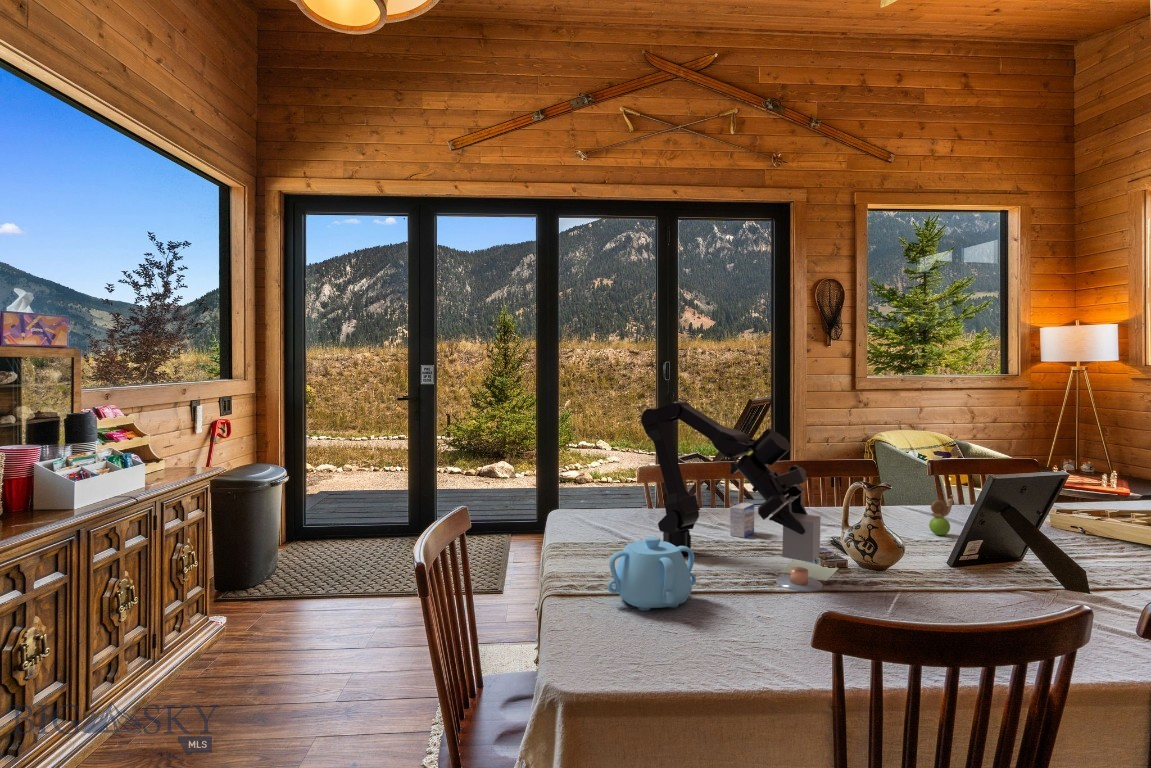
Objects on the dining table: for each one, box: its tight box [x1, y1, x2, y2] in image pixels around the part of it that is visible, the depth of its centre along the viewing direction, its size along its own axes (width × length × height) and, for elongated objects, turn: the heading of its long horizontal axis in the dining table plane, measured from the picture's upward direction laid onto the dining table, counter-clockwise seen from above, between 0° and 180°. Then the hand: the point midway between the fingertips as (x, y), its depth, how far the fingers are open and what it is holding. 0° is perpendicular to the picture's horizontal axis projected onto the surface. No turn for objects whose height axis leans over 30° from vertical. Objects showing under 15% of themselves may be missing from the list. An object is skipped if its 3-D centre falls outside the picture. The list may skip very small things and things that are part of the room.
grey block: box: [781, 513, 822, 564], centre depth 146 cm, size 7×7×9 cm
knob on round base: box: [775, 567, 823, 593], centre depth 145 cm, size 10×10×4 cm
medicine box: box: [729, 502, 755, 539], centre depth 188 cm, size 8×4×9 cm, turn 143°
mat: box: [779, 559, 839, 582], centre depth 155 cm, size 11×11×1 cm
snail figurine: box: [928, 494, 955, 536], centre depth 188 cm, size 5×6×12 cm
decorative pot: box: [606, 535, 697, 612], centre depth 135 cm, size 16×16×14 cm
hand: (807, 530), depth 145 cm, fingers closed on grey block, 7 cm apart
